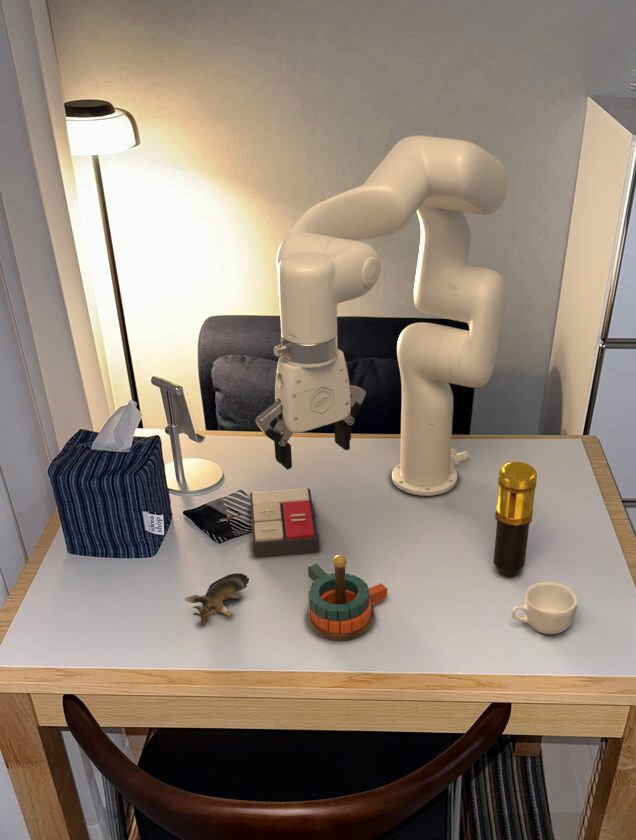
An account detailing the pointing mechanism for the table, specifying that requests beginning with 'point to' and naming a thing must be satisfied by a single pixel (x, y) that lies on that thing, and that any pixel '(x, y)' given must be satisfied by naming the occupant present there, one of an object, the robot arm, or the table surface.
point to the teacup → (548, 607)
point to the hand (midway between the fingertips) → (314, 455)
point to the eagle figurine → (219, 595)
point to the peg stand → (339, 599)
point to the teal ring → (327, 583)
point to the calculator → (283, 522)
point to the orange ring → (350, 625)
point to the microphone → (513, 516)
